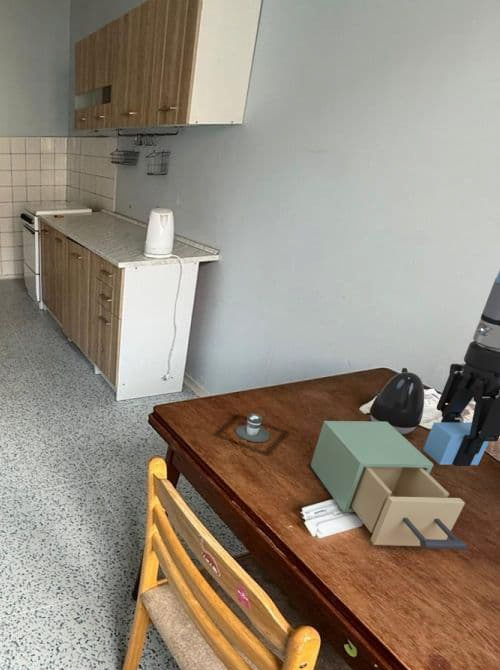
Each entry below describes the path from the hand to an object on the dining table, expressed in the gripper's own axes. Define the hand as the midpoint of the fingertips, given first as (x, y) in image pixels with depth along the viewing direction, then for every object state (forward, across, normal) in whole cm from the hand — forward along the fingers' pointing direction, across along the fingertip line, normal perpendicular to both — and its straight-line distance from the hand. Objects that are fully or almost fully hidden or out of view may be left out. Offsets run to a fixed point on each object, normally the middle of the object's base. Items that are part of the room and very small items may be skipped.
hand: (450, 455), depth 92 cm
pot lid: (+7, -19, -31) cm, 37 cm away
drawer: (+7, +13, -16) cm, 22 cm away
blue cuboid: (0, 0, 0) cm, 0 cm away
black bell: (+8, -22, +3) cm, 24 cm away
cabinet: (+8, +1, -16) cm, 18 cm away
